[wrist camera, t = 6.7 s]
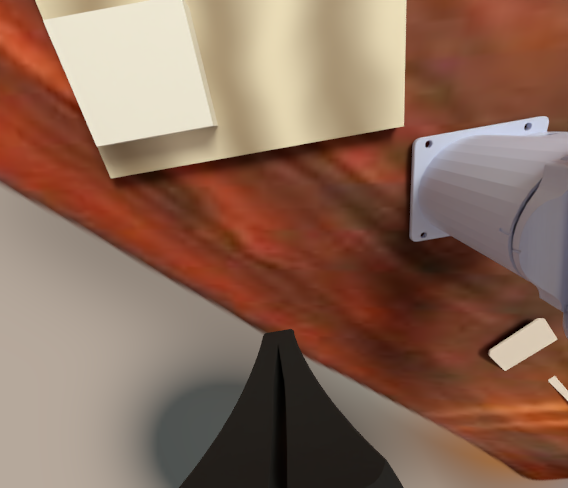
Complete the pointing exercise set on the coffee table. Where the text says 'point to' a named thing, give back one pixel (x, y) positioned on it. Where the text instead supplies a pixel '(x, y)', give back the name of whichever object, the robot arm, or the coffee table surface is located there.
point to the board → (277, 76)
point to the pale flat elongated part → (526, 348)
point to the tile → (135, 70)
